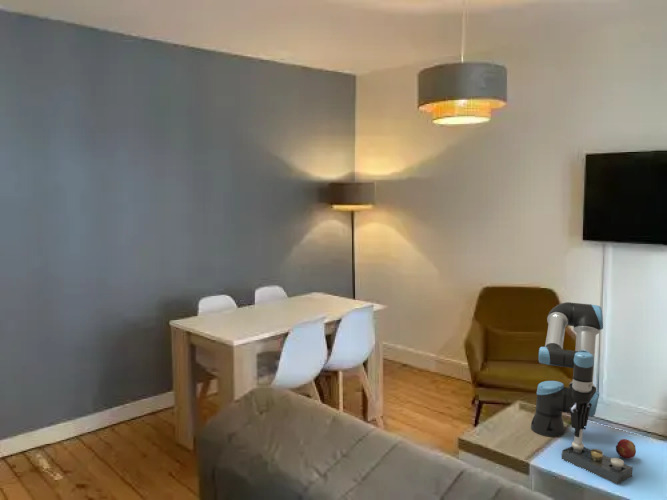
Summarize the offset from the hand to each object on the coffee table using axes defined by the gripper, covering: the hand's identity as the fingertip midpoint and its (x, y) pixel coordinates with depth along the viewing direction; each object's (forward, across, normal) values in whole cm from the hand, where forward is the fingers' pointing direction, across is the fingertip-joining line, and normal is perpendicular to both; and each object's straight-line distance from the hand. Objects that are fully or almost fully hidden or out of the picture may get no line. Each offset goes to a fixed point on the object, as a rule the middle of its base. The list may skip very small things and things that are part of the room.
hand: (577, 443), depth 232 cm
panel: (+7, 0, -8) cm, 11 cm away
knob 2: (+6, 0, -17) cm, 18 cm away
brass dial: (+3, 0, -8) cm, 9 cm away
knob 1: (+6, 0, 0) cm, 6 cm away
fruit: (+7, +19, -10) cm, 23 cm away
